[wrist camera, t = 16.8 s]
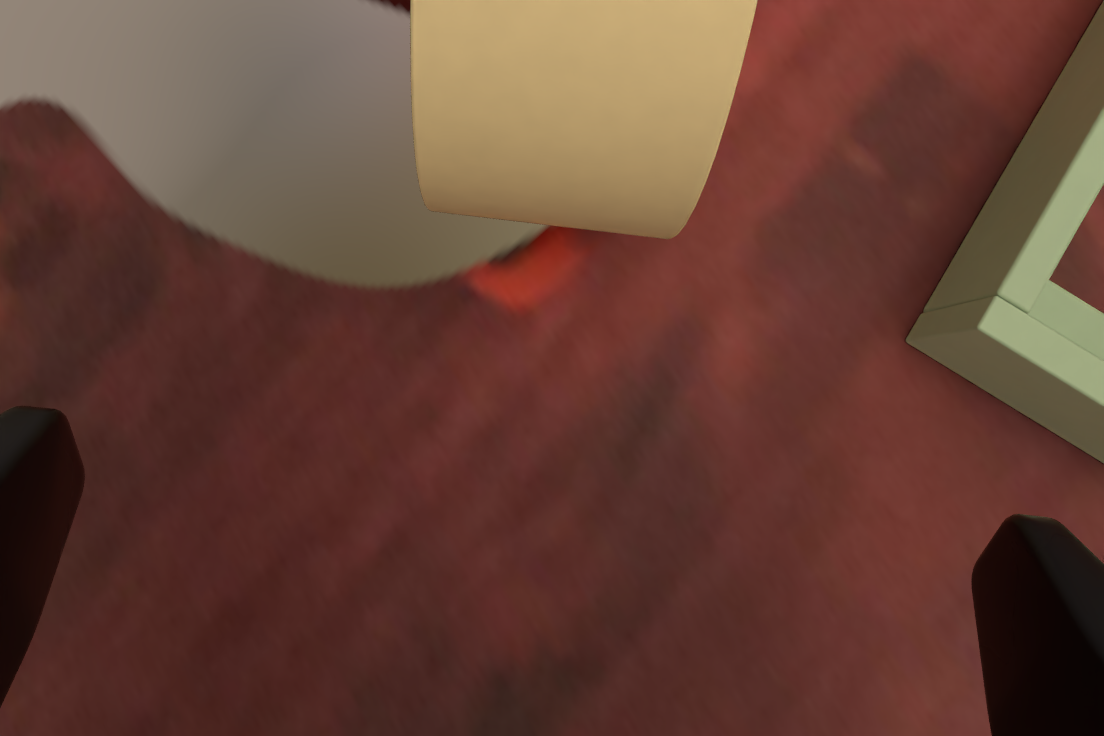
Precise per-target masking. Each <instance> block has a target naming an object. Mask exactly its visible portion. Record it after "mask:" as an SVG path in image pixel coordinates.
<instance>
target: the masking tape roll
mask: <svg viewBox="0 0 1104 736" xmlns="http://www.w3.org/2000/svg"><path fill="white" fill-rule="evenodd" d="M756 5H757V0H411V12H410V42H411V43H410V46H411V47H410V50H411V51H410V54H411V100H412V121H413V122H412V123H413V137H414V151H415V160H416V169H417V175H418V181H419V186H420V191H421V195H422V198H423V201H424V203H425V206H426V207H427V208H428V209H429V210H430V211H433V212H442V213H451V214H460V215H468V216H476V217H484V218H493V219H501V220H510V221H518V222H527V223H535V224H544V225H552V226H561V227H569V228H578V229H586V230H595V231H603V232H612V233H620V234H629V235H637V236H646V237H654V238H663V239H671V238H673V237H674V236H676V235H678V234H679V232H680V231H681V230H682V228H683V227H684V226H685V225H686V223H687V221H688V219H689V217H690V215H691V214H692V212H693V210H694V208H695V206H696V204H697V202H698V199H699V197H700V195H701V192H702V190H703V188H704V185H705V183H706V180H707V178H708V175H709V172H710V169H711V167H712V164H713V161H714V158H715V155H716V153H717V150H718V146H719V143H720V140H721V137H722V134H723V130H724V127H725V124H726V121H727V118H728V114H729V111H730V107H731V104H732V100H733V96H734V93H735V89H736V85H737V82H738V78H739V75H740V71H741V67H742V63H743V59H744V55H745V51H746V47H747V43H748V39H749V35H750V31H751V27H752V23H753V18H754V14H755V10H756Z"/></svg>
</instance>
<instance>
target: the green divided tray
mask: <svg viewBox="0 0 1104 736" xmlns="http://www.w3.org/2000/svg"><path fill="white" fill-rule="evenodd" d="M1103 184H1104V0H1103V2H1102V4H1101V6H1100V7H1099V9H1098V11H1097V12H1096V14H1095V16H1094V18H1093V19H1092V21H1091V23H1090V24H1089V26H1088V28H1087V30H1086V31H1085V33H1084V35H1083V37H1082V38H1081V40H1080V42H1079V43H1078V45H1077V47H1076V49H1075V50H1074V52H1073V54H1072V55H1071V57H1070V59H1069V61H1068V62H1067V64H1066V66H1065V67H1064V69H1063V71H1062V73H1061V74H1060V76H1059V78H1058V79H1057V81H1056V83H1055V85H1054V86H1053V88H1052V90H1051V91H1050V93H1049V95H1048V97H1047V98H1046V100H1045V102H1044V103H1043V105H1042V107H1041V109H1040V110H1039V112H1038V114H1037V115H1036V117H1035V119H1034V121H1033V122H1032V124H1031V126H1030V128H1029V129H1028V131H1027V133H1026V134H1025V136H1024V138H1023V140H1022V141H1021V143H1020V145H1019V146H1018V148H1017V150H1016V152H1015V153H1014V155H1013V157H1012V158H1011V160H1010V162H1009V164H1008V165H1007V167H1006V169H1005V170H1004V172H1003V174H1002V176H1001V177H1000V179H999V181H998V182H997V184H996V186H995V188H994V189H993V191H992V193H991V194H990V196H989V198H988V200H987V201H986V203H985V205H984V206H983V208H982V210H981V212H980V213H979V215H978V217H977V219H976V220H975V222H974V224H973V225H972V227H971V229H970V231H969V232H968V234H967V236H966V237H965V239H964V241H963V243H962V244H961V246H960V248H959V249H958V251H957V253H956V255H955V256H954V258H953V260H952V261H951V263H950V265H949V267H948V268H947V270H946V272H945V273H944V275H943V277H942V279H941V280H940V282H939V284H938V285H937V287H936V289H935V291H934V292H933V294H932V296H931V297H930V299H929V301H928V303H927V304H926V306H925V308H924V310H923V312H924V313H922V314H920V316H919V317H918V319H917V321H916V323H915V324H914V326H913V328H912V329H911V331H910V333H909V335H908V336H907V338H906V342H907V343H908V344H910V345H911V346H913V347H915V348H916V349H918V350H920V351H921V352H923V353H924V354H926V355H928V356H929V357H931V358H933V359H934V360H936V361H938V362H939V363H941V364H942V365H944V366H946V367H947V368H949V369H951V370H952V371H954V372H955V373H957V374H959V375H960V376H962V377H964V378H965V379H967V380H969V381H970V382H972V383H973V384H975V385H977V386H978V387H980V388H982V389H983V390H985V391H986V392H988V393H990V394H991V395H993V396H995V397H996V398H998V399H999V400H1001V401H1003V402H1004V403H1006V404H1008V405H1009V406H1011V407H1013V408H1014V409H1016V410H1017V411H1019V412H1021V413H1022V414H1024V415H1026V416H1027V417H1029V418H1030V419H1032V420H1034V421H1035V422H1037V423H1039V424H1040V425H1042V426H1044V427H1045V428H1047V429H1048V430H1050V431H1052V432H1053V433H1055V434H1057V435H1058V436H1060V437H1061V438H1063V439H1065V440H1066V441H1068V442H1070V443H1071V444H1073V445H1074V446H1076V447H1078V448H1079V449H1081V450H1083V451H1084V452H1086V453H1088V454H1089V455H1091V456H1092V457H1094V458H1096V459H1097V460H1099V461H1101V462H1102V463H1104V314H1103V313H1102V312H1100V311H1098V310H1097V309H1095V308H1094V307H1092V306H1090V305H1089V304H1087V303H1085V302H1084V301H1082V300H1081V299H1079V298H1077V297H1076V296H1074V295H1072V294H1071V293H1069V292H1068V291H1066V290H1064V289H1063V288H1061V287H1059V286H1058V285H1056V284H1055V283H1053V282H1051V281H1050V280H1049V278H1050V276H1051V275H1052V273H1053V271H1054V269H1055V268H1056V266H1057V264H1058V262H1059V261H1060V259H1061V257H1062V256H1063V254H1064V252H1065V250H1066V249H1067V247H1068V245H1069V243H1070V242H1071V240H1072V238H1073V236H1074V235H1075V233H1076V231H1077V229H1078V228H1079V226H1080V224H1081V222H1082V221H1083V219H1084V217H1085V215H1086V214H1087V212H1088V210H1089V208H1090V207H1091V205H1092V203H1093V201H1094V200H1095V198H1096V196H1097V195H1098V193H1099V191H1100V189H1101V188H1102V186H1103Z"/></svg>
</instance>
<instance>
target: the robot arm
mask: <svg viewBox="0 0 1104 736" xmlns="http://www.w3.org/2000/svg"><path fill="white" fill-rule="evenodd" d="M84 480H85V473H84V466H83V463H82V460H81V457H80V454H79V451H78V448H77V445H76V442H75V439H74V436H73V433H72V430H71V427H70V424H69V421H68V419H67V417H66V416H65V415H64V414H63V413H62V412H61V411H59V410H56V409H50V408H41V407H32V406H16V407H13V408H10V409H8V410H6V411H5V412H3V413H2V414H0V707H1V705H2V703H3V701H4V699H5V697H6V694H7V692H8V690H9V688H10V686H11V684H12V682H13V680H14V677H15V675H16V673H17V671H18V669H19V667H20V665H21V663H22V660H23V658H24V656H25V654H26V651H27V649H28V647H29V645H30V642H31V640H32V638H33V635H34V633H35V630H36V627H37V624H38V622H39V619H40V616H41V614H42V611H43V608H44V605H45V602H46V599H47V596H48V593H49V590H50V587H51V584H52V581H53V578H54V575H55V572H56V569H57V566H58V563H59V560H60V557H61V554H62V551H63V548H64V545H65V543H66V540H67V537H68V534H69V531H70V528H71V525H72V522H73V519H74V516H75V513H76V510H77V507H78V504H79V501H80V498H81V495H82V492H83V487H84ZM972 594H973V602H974V610H975V617H976V625H977V633H978V640H979V648H980V656H981V664H982V671H983V679H984V687H985V694H986V702H987V710H988V716H989V722H990V728H991V734H992V736H1104V564H1103V563H1102V562H1101V561H1100V560H1099V559H1098V558H1097V557H1096V556H1095V555H1094V554H1093V553H1092V552H1091V551H1090V550H1089V549H1088V548H1087V547H1086V546H1084V545H1083V544H1082V543H1081V542H1080V541H1079V540H1078V539H1077V538H1076V537H1075V536H1074V535H1073V534H1072V533H1071V532H1070V531H1069V530H1068V529H1067V528H1066V527H1065V526H1064V525H1062V524H1061V523H1060V522H1058V521H1057V520H1055V519H1052V518H1048V517H1040V516H1031V515H1022V514H1015V515H1012V516H1010V517H1008V518H1006V519H1005V520H1004V522H1003V523H1002V524H1001V526H1000V527H999V529H998V530H997V532H996V533H995V535H994V536H993V538H992V539H991V541H990V542H989V544H988V545H987V546H986V548H985V549H984V551H983V552H982V554H981V555H980V557H979V558H978V560H977V562H976V563H975V566H974V569H973V573H972Z"/></svg>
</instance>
